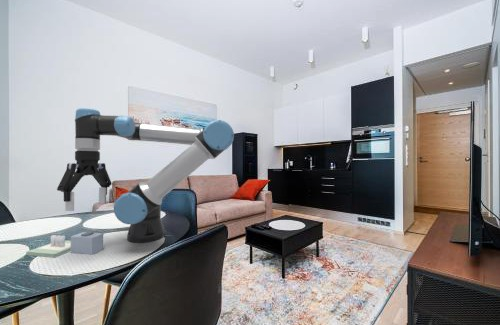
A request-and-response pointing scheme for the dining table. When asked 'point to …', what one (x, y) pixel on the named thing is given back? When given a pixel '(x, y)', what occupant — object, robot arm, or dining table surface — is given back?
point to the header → (52, 247)
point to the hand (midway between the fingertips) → (87, 206)
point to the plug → (86, 243)
